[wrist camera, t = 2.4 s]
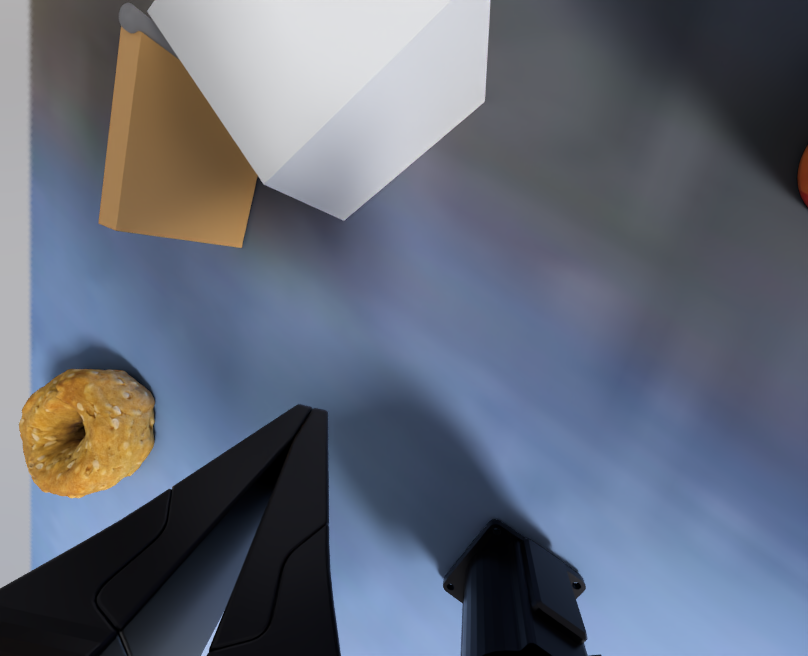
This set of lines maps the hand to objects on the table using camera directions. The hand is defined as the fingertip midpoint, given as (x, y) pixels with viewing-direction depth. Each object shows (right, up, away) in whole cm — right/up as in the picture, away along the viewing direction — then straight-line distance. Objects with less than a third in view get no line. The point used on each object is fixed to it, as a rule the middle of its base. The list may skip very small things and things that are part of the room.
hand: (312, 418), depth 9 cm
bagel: (-22, -5, +18) cm, 29 cm away
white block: (+1, +15, +9) cm, 18 cm away
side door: (-8, +12, +11) cm, 18 cm away
